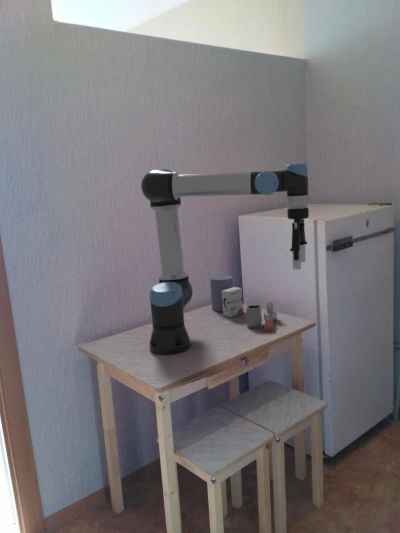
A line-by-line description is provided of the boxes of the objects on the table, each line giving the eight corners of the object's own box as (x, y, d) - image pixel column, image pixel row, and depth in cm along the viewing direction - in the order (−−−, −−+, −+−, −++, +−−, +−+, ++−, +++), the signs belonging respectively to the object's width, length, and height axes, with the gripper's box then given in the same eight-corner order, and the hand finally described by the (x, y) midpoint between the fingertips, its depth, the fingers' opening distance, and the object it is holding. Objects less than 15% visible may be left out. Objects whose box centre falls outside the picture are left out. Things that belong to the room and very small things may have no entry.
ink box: (235, 311, 216) (234, 286, 213) (243, 313, 212) (242, 287, 210) (222, 316, 210) (220, 290, 208) (230, 318, 206) (228, 291, 204)
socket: (247, 328, 191) (246, 308, 190) (248, 323, 197) (247, 305, 195) (260, 328, 190) (260, 308, 189) (261, 323, 195) (261, 305, 194)
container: (207, 310, 221) (205, 278, 219) (221, 304, 229) (219, 274, 226) (225, 313, 215) (223, 280, 212) (238, 307, 222) (236, 276, 220)
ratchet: (261, 331, 186) (260, 312, 184) (264, 318, 203) (263, 299, 201) (275, 331, 185) (274, 311, 183) (277, 317, 202) (276, 299, 200)
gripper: (304, 210, 157) (305, 272, 161) (312, 204, 181) (313, 259, 184) (281, 210, 160) (283, 272, 164) (292, 205, 183) (293, 259, 187)
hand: (299, 265), depth 174 cm, fingers open, 13 cm apart
